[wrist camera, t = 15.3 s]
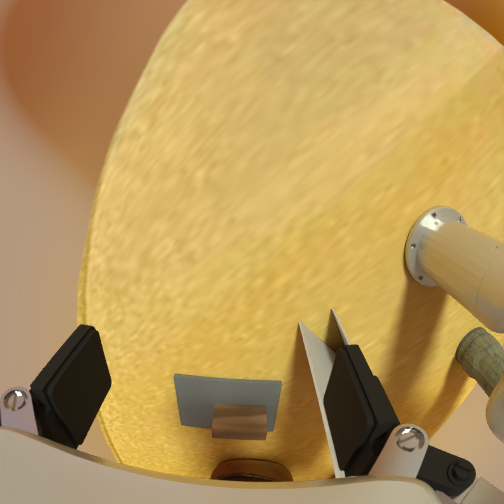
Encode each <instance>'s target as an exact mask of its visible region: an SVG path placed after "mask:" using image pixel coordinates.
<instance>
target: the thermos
mask: <svg viewBox="0 0 504 504" xmlns="http://www.w3.org/2000/svg"><path fill="white" fill-rule="evenodd" d="M456 359H457V361H458V362H460V364H461V366H462V368H463V369H464V370H465V372H466V373H467V374H468V375H469V377H471V378H474V379H475V380H476V381H477V382H478V384H479V385H480V386H481V387H482V389H483V390H484V391H485V393H486V394H487V395H488V397H489V398H490V396H491V394H492V392H493V390H494V388H495V387H496V385H497V383H498V382H499V380H500V378H501V377H502V375H503V373H504V350H503V348H502V346H501V345H500V343H499V342H498V341H497V340H496V339H495V338H494V337H493V336H492V335H491V334H489V333H487V332H486V330H484V329H483V328H482V327H478V328H475V329H473V330H472V331H470V332H469V333H468V334H467V335H466V336H465V337H464V338H463V339H462V341H461V342H460V344H459V346H458V348H457V351H456Z"/></svg>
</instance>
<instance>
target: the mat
mask: <svg viewBox="0 0 504 504" xmlns="http://www.w3.org/2000/svg"><path fill="white" fill-rule="evenodd" d="M174 382H175V389H176V395H177V402H178V408H179V414H180V420H181V425H184V426H191V427H200V428H210V429H212V423H213V415H214V407H215V403H225V404H241V405H266V414H267V431H273V428H274V423H275V418H276V413H277V407H278V402H279V397H280V391H281V385H282V382H281V381H268V380H242V379H225V378H212V377H201V376H191V375H182V374H174Z"/></svg>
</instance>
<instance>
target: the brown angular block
mask: <svg viewBox="0 0 504 504" xmlns="http://www.w3.org/2000/svg"><path fill="white" fill-rule="evenodd" d="M266 435H267V414H266V405H241V404H225V403H215V407H214V415H213V423H212V438H224V439H240V440H266Z"/></svg>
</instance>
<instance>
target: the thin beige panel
mask: <svg viewBox="0 0 504 504" xmlns="http://www.w3.org/2000/svg"><path fill="white" fill-rule="evenodd" d="M331 309H332V311H333V314H334V317H335V319H336V322H337V325H338V327H339V330H340V333H341V336H342V338H343V341H344V344H345V345H351V343H350V341H349V339H348V337H347V335H346V333H345V331H344V329H343V327H342V325H341V323H340V321H339V318H338V316H337V314H336V312H335V310H334V308H331ZM299 326H300V330H301V334H302V337H303V341H304V345H305V349H306V353H307V357H308V361H309V365H310V369H311V373H312V377H313V381H314V385H315V389H316V393H317V398H318V402H319V406H320V410H321V414H322V419H323V423H324V427H325V431H326V436H327V440H328V445H329V449H330V453H331V458H332V463H333V467H334V472H335V476H336V478H344V477H345V474H344V471H340V469H339V467H338V462H337V458H336V454H335V450H334V445H333V441H332V437H331V433H330V429H329V425H328V421H327V417H326V413H325V409H324V405H323V398H324V394H325V391H326V388H327V384H328V381H329V377H330V374H331V370H332V367H333V363H334V360H335V356H336V353H335V352H334V351H333V350H332V349H331V348H330V347H329V346H327V345H326V344H325V343H324V342H323V341H322V340H321V339H320V338H318V337H317V336H316V335H315V334H314V333H313V332H312V331H311V330H309V329H308V328H307V327H306V326H305V325H304V324H303V323H302V322H299ZM352 477H355V476H352Z"/></svg>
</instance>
